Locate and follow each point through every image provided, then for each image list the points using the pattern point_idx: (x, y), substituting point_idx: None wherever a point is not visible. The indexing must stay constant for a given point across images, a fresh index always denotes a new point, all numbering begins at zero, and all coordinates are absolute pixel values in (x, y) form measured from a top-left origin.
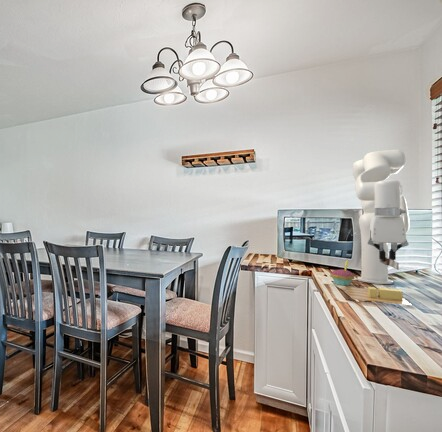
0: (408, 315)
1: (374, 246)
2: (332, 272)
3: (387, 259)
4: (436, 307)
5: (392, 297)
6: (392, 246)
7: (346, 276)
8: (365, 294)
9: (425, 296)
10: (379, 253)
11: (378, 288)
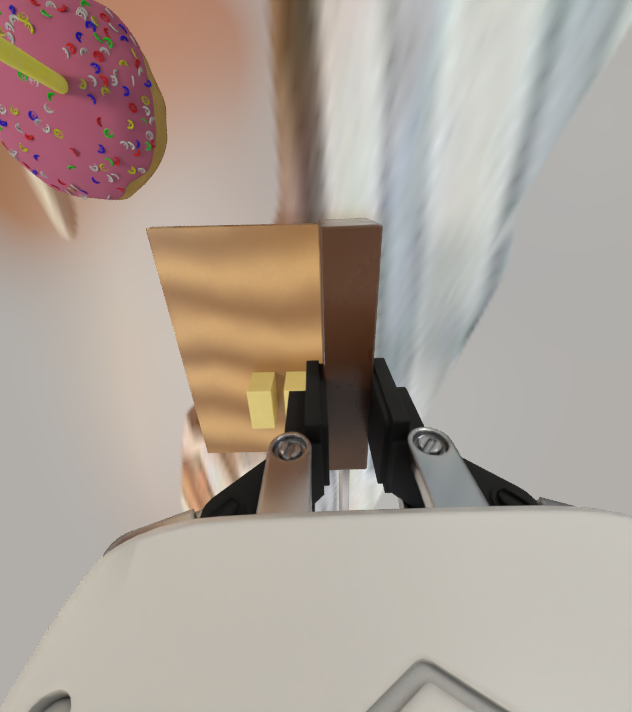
0: (326, 504)
1: (221, 492)
2: None
3: (330, 465)
4: (431, 405)
5: None
6: (434, 490)
7: (118, 197)
8: (244, 373)
9: (496, 218)
10: (286, 427)
11: (284, 395)
